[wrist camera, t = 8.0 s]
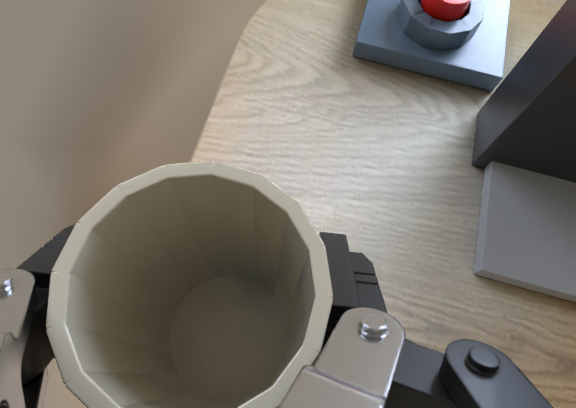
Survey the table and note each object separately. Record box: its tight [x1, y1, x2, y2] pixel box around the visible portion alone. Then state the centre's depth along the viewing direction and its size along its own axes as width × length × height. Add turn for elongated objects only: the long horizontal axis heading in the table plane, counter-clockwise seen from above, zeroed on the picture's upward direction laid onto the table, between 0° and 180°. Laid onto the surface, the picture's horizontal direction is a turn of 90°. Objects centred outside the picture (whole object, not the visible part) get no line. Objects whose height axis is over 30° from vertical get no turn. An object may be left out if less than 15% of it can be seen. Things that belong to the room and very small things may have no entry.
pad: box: [353, 0, 510, 91], centre depth 35 cm, size 12×9×4 cm
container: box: [46, 161, 333, 408], centre depth 13 cm, size 5×5×10 cm
